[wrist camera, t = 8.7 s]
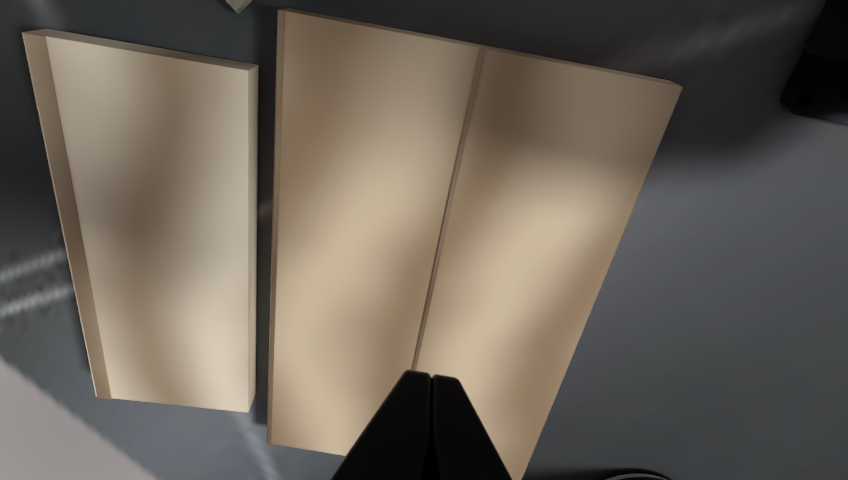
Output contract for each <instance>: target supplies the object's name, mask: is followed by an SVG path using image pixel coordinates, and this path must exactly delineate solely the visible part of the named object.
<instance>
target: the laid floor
mask: <svg viewBox="0 0 848 480" xmlns="http://www.w3.org/2000/svg"><path fill="white" fill-rule="evenodd" d="M682 88H683V87H682V86H680V85H678V84H676V83H673V82H671V81H669V80H664V79H659V78H654V77H649V76H643V75H638V74H633V73H628V72H622V71H617V70H612V69H607V68H602V67H596V66H591V65H586V64H581V63H575V62H570V61H565V60H560V59H554V58H549V57H544V56H539V55H533V54H528V53H523V52H518V51H512V50H507V49H502V48H497V47H491V46H486V45H481V44H476V43H470V42H465V41H460V40H455V39H449V38H444V37H439V36H434V35H429V34H423V33H418V32H413V31H408V30H402V29H397V28H392V27H387V26H381V25H376V24H371V23H366V22H360V21H355V20H350V19H345V18H339V17H334V16H329V15H324V14H318V13H313V12H308V11H303V10H297V9H292V8H286V9H279V10H278V21H277V60H276V99H275V138H274V176H273V215H272V254H271V293H270V331H269V370H268V409H267V443H268V444H270V445H271V444H277V445H283V446H289V447H295V448H301V449H308V450H314V451H320V452H326V453H332V454H338V455H344V456H346V455H347V453H348V452H349V450H350V449H351V447H352V446H353V444H354V443H355V442H356V440H357V439H358V437H359V436H360V434H361V433H362V431H363V430H364V429H365V427H366V426H367V424H368V423H369V421H370V420H371V418H372V417H373V416H374V414H375V413H376V411H377V410H378V408H379V407H380V405H381V404H382V402H383V401H384V400H385V398H386V397H387V395H388V394H389V392H390V391H391V389H392V388H393V387H394V385H395V384H396V382H397V381H398V379H399V378H400V376H401V375H402V374H403V372H404V371H405V370H408V369H410V370H415V371H421V372H427V373H429V374H430V375H431V377H432V376H433V375H435V374H439V375H445V376H451V377H455V378H457V379H459V381H460V382H461V384H462V386H463V388H464V390H465V392H466V393H467V395H468V397H469V399H470V401H471V403H472V405H473V407H474V408H475V410H476V412H477V414H478V416H479V418H480V420H481V422H482V424H483V425H484V427H485V429H486V431H487V433H488V435H489V437H490V439H491V440H492V442H493V444H494V446H495V448H496V450H497V452H498V454H499V456H500V457H501V459H502V461H503V463H504V465H505V467H506V469H507V471H508V472H509V474H510V476H511V478H512V480H522V477H523V475H524V473H525V470H526V468H527V465H528V463H529V460H530V458H531V456H532V453H533V451H534V448H535V446H536V443H537V441H538V439H539V436H540V434H541V431H542V429H543V426H544V424H545V421H546V419H547V417H548V414H549V412H550V409H551V407H552V404H553V402H554V400H555V397H556V395H557V392H558V390H559V387H560V385H561V383H562V380H563V378H564V375H565V373H566V370H567V368H568V366H569V363H570V361H571V358H572V356H573V353H574V351H575V349H576V346H577V344H578V341H579V339H580V336H581V334H582V332H583V329H584V327H585V324H586V322H587V319H588V317H589V314H590V312H591V310H592V307H593V305H594V302H595V300H596V297H597V295H598V293H599V290H600V288H601V285H602V283H603V280H604V278H605V276H606V273H607V271H608V268H609V266H610V263H611V261H612V259H613V256H614V254H615V251H616V249H617V246H618V244H619V242H620V239H621V237H622V234H623V232H624V229H625V227H626V225H627V222H628V220H629V217H630V215H631V212H632V210H633V207H634V205H635V203H636V200H637V198H638V195H639V193H640V190H641V188H642V186H643V183H644V181H645V178H646V176H647V173H648V171H649V169H650V166H651V164H652V161H653V159H654V156H655V154H656V152H657V149H658V147H659V144H660V142H661V139H662V137H663V135H664V132H665V130H666V127H667V125H668V122H669V120H670V117H671V115H672V113H673V110H674V108H675V105H676V103H677V100H678V98H679V96H680V93H681V91H682Z"/></svg>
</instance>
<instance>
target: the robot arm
mask: <svg viewBox="0 0 848 480" xmlns="http://www.w3.org/2000/svg"><path fill="white" fill-rule="evenodd" d="M805 44H806V48H805V50H804V52H803V54H802V56H801V58H800V60H799V62H798V64H797V66H796V68H795V70H794V72H793V74H792V76H791V77H790V79H789V81H788V83H787V85H786V87H785V89H784V91H783V93H782V96H781V99H780V104H781V107H782V108H783V109H784V110H786V111H788V112H790V113H793V114H795V115H800V116H806V117H811V118H816V119H822V120H827V121H832V122H837V123H843V124H848V0H827V1H826V3H825V5H824V7H823V9H822V11H821V13H820V15H819V17H818V19H817V21H816V23H815V25H814V27H813V29H812V31H811V33H810V35H809V37H808V39H807V41H806V43H805ZM803 92H804V94H805V95H804V99H803V100H802V101H801V102H800V103H798V104H796V103H795V101H796V98H797V96H798V95H799V94H801V93H803ZM329 480H512V478H511V476H510V474H509V472H508V471H507V469H506V467H505V465H504V463H503V461H502V459H501V457H500V456H499V454H498V452H497V450H496V448H495V446H494V444H493V442H492V440H491V439H490V437H489V435H488V433H487V431H486V429H485V427H484V425H483V424H482V422H481V420H480V418H479V416H478V414H477V412H476V410H475V408H474V407H473V405H472V403H471V401H470V399H469V397H468V395H467V393H466V392H465V390H464V388H463V386H462V384H461V382H460V381H459V379H457V378H455V377H451V376H445V375H439V374H435V375H433V376H432V377H431V375H430V374H429V373H427V372H421V371H415V370H410V369H408V370H405V371H404V372H403V374H402V375H401V376H400V378H399V379H398V381H397V382H396V384H395V385H394V387H393V388H392V389H391V391H390V392H389V394H388V395H387V397H386V398H385V400H384V401H383V402H382V404H381V405H380V407H379V408H378V410H377V411H376V413H375V414H374V416H373V417H372V418H371V420H370V421H369V423H368V424H367V426H366V427H365V429H364V430H363V431H362V433H361V434H360V436H359V437H358V439H357V440H356V442H355V443H354V444H353V446H352V447H351V449H350V450H349V452H348V453H347V455H346V456H345V458H344V459H343V460H342V462H341V463H340V465H339V466H338V468H337V469H336V471H335V472H334V473H333V475H332V476H331V478H330V479H329Z"/></svg>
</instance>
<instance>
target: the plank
mask: <svg viewBox="0 0 848 480" xmlns="http://www.w3.org/2000/svg"><path fill="white" fill-rule="evenodd" d="M22 36H23V41H24V45H25V50H26V55H27V60H28V65H29V70H30V75H31V80H32V85H33V90H34V94H35V99H36V104H37V109H38V114H39V119H40V124H41V129H42V134H43V139H44V143H45V148H46V153H47V158H48V163H49V168H50V173H51V178H52V183H53V188H54V192H55V197H56V202H57V207H58V212H59V217H60V222H61V227H62V232H63V237H64V241H65V246H66V251H67V256H68V261H69V266H70V271H71V276H72V281H73V286H74V291H75V295H76V300H77V305H78V310H79V315H80V320H81V325H82V330H83V335H84V340H85V344H86V349H87V354H88V359H89V364H90V369H91V374H92V379H93V384H94V389H95V393H96V396H97V398H104V399H111V398H116V399H125V400H135V401H144V402H154V403H163V404H173V405H182V406H192V407H201V408H211V409H220V410H230V411H239V412H249V409H250V407H251V404H252V402H253V399H254V396H255V393H256V284H257V176H258V68H259V65H256V64H250V63H245V62H239V61H233V60H227V59H221V58H215V57H210V56H204V55H198V54H192V53H186V52H180V51H175V50H169V49H163V48H157V47H151V46H146V45H140V44H134V43H128V42H122V41H116V40H111V39H105V38H99V37H93V36H87V35H81V34H76V33H70V32H64V31H58V30H52V29H41V30H34V31H27V32H22Z"/></svg>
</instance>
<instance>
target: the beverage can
mask: <svg viewBox="0 0 848 480" xmlns="http://www.w3.org/2000/svg"><path fill="white" fill-rule="evenodd" d="M606 480H667V479H664V478H662V477H658V476H654V475H649V474H626V475H620V476H615V477H612V478H609V479H606Z"/></svg>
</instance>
